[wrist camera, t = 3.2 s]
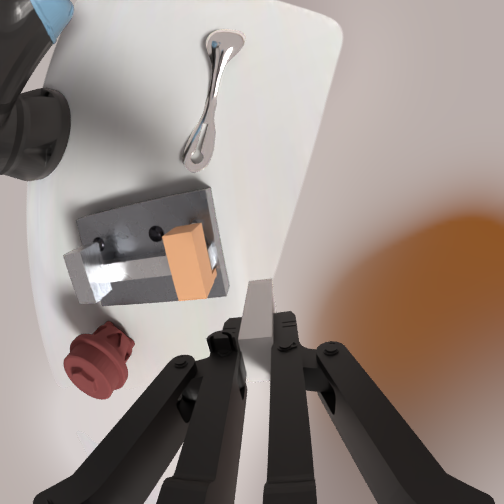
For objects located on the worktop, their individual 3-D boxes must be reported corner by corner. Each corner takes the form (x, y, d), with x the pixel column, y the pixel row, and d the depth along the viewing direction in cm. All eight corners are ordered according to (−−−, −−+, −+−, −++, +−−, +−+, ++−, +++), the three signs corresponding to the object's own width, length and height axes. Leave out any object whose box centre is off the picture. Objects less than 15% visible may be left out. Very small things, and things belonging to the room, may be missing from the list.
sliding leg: (180, 223, 31) (162, 236, 25) (205, 218, 31) (191, 231, 25) (193, 277, 33) (178, 301, 27) (217, 275, 33) (206, 298, 27)
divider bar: (84, 242, 33) (58, 256, 27) (206, 219, 31) (192, 231, 25) (97, 285, 35) (74, 304, 29) (217, 271, 33) (206, 294, 27)
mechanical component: (112, 362, 43) (84, 317, 40) (154, 356, 41) (124, 305, 39) (82, 407, 31) (44, 357, 29) (126, 408, 30) (84, 352, 27)
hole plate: (88, 215, 35) (75, 219, 32) (210, 187, 33) (205, 189, 30) (111, 297, 38) (102, 306, 35) (229, 286, 36) (226, 296, 34)
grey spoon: (208, 175, 29) (167, 168, 29) (214, 176, 32) (177, 169, 32) (249, 22, 24) (211, 18, 24) (250, 35, 27) (215, 31, 27)
